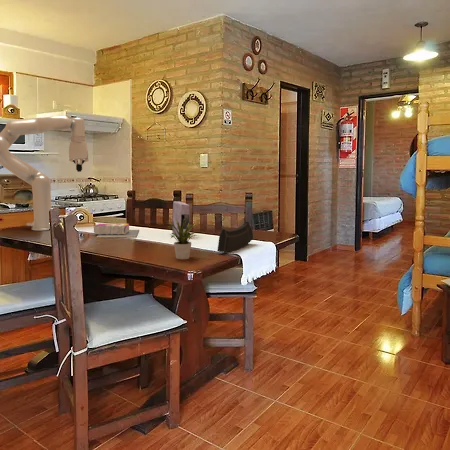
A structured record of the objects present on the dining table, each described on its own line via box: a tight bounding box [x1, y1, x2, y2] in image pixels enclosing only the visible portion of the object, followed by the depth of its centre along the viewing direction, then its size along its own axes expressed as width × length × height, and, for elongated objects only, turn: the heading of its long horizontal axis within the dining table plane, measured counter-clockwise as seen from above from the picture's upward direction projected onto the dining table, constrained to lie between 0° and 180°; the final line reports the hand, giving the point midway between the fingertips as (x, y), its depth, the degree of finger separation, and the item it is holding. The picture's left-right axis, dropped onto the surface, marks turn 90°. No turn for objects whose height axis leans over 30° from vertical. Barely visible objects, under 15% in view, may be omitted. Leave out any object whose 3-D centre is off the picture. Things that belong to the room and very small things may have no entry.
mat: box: [96, 229, 140, 239], centre depth 240 cm, size 20×24×1 cm
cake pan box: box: [171, 201, 190, 239], centre depth 235 cm, size 19×5×18 cm, turn 20°
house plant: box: [167, 219, 199, 260], centre depth 178 cm, size 14×14×16 cm
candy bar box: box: [93, 223, 130, 236], centre depth 239 cm, size 11×5×16 cm
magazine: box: [217, 221, 254, 253], centre depth 199 cm, size 17×3×30 cm
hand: (79, 171), depth 261 cm, fingers closed
